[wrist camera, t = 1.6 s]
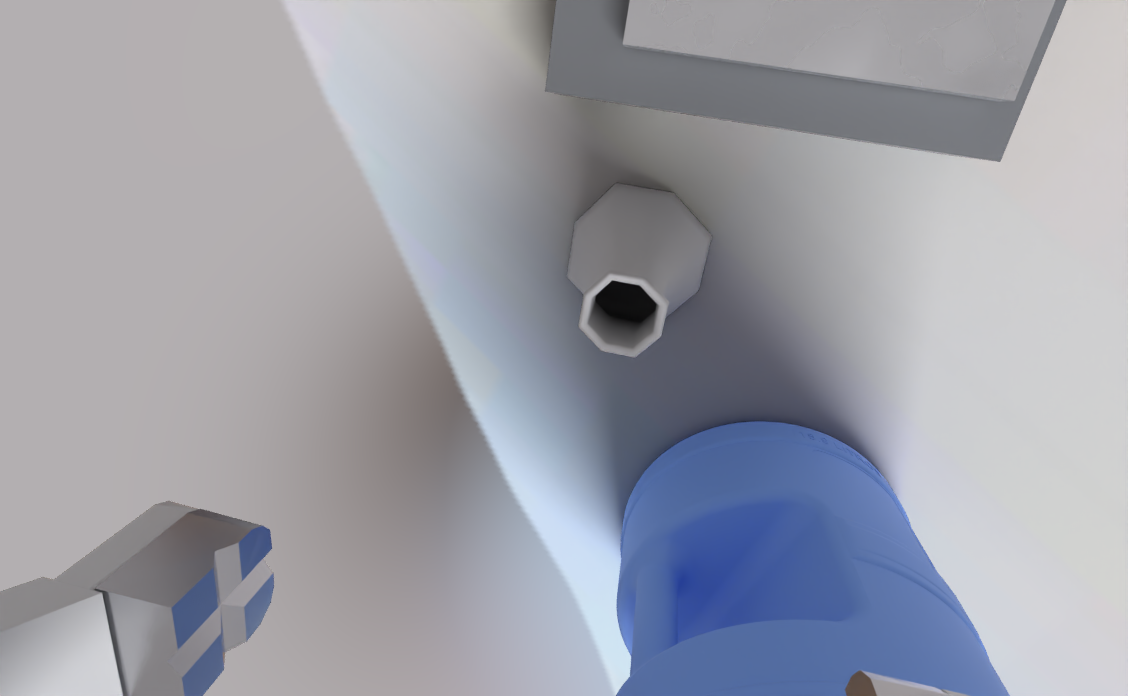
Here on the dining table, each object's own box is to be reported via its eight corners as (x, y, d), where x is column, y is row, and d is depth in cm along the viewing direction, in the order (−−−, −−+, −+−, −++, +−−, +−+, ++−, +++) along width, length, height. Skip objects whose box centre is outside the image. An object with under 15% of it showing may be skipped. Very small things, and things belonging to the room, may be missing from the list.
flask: (662, 345, 32) (659, 437, 23) (545, 281, 32) (493, 348, 22) (737, 227, 29) (768, 278, 20) (609, 156, 29) (579, 174, 20)
